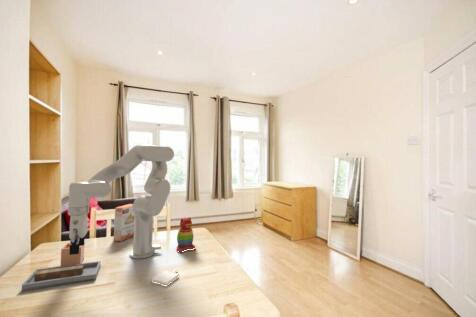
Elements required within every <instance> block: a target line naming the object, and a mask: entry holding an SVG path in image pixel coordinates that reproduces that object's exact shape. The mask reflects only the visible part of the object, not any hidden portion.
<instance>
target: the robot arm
mask: <svg viewBox="0 0 476 317" xmlns="http://www.w3.org/2000/svg"><path fill="white" fill-rule="evenodd" d="M174 157H175V151H174V150H173V148H172V147H170V146H167V145H156V144H155V145H153V144H137V145H134V146H133V147H131V149H129V150H128V151H127V152H126V153H125V154H123V155H122V156H121V157H120V158H119V159H117V160H116V161H114V162H113V163H111V164H110V165H108V166H106V167H104V168H103V169H101V170H100V171H98V172H97V173H96V174H94V175H93V176H91V178H90V179H88V180H87V181H74V182H71V183H70V184H69V186H68V207H67V215H68V216H70V220H69V234H68V236H69V239H70V242H69V243H70V252H69V254H70V255H73V254H78V253H79V246H83V245H84V242H85V236H86V235H87V233H88V214H90V198H106V197H107V196H108V195H110V194H111V193H112V185H111V184H110V183H111V182H112V181H114V180H116V179H119V178H121V177H125V176H127V175H129V174H131V173H132V172H133V171H134V170H135V169H136V168H137V167H138V166H139V165H140V164H141V163H142V162H151V164H152V167H151V171H150V173H149V175H148V177H147V179H146V181H145V183H144V186H143V189H144V191H145V193H146V194H149V195H150V196H149V195H143V194H142V195H140V196H137V197H135V199H134V201H133V203H132V204H133V210H134V236H133V243H132V244H133V245H132V250H131V251H130V252H129V257H131V258H133V259H145V258H146V259H147V258H150V257H152V256H153V255H155V253H156V250H162V245H159V244H153V234H154V232H153V231H154V217H156V216H158V215H160V214H161V213H162V211H163V209H164V206H165V205H166V202H167V200H168V198H169V195H170V192H171V184H170V181H169V180H167V179H166V177H167V174H168V165H167V162H171V161H172V160H173V159H174Z"/></svg>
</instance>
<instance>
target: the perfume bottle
mask: <svg viewBox="0 0 476 317" xmlns="http://www.w3.org/2000/svg"><path fill="white" fill-rule="evenodd" d="M176 271H178V272H179V270H178V269H176V268H175V269H174V270H173V271H168V270H166V269H165V270H162V271H161V272H160V273H159V274H157V275H156V276H154V277H152V278H151V281H153V282H157V283H160V284H163V285H168V284H169V283H170V282H172V281H173V280H174V279H175V278H177V277H178V276H179V277H180V274H179V273H178V272H177V273H175V272H176ZM177 279H178V278H177ZM172 283H173V282H172Z"/></svg>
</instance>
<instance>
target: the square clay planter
mask: <svg viewBox="0 0 476 317" xmlns="http://www.w3.org/2000/svg"><path fill="white" fill-rule="evenodd" d="M85 243H86V242H85V241H84V245H83V246H79V253H78V254H73V255H70V254H69V252H70V242H66V243H65V244H64V245H63V247H62V248H61V250H60V251H61V252H60V266H66V265H73V264H81V263H84V261H85Z"/></svg>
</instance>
